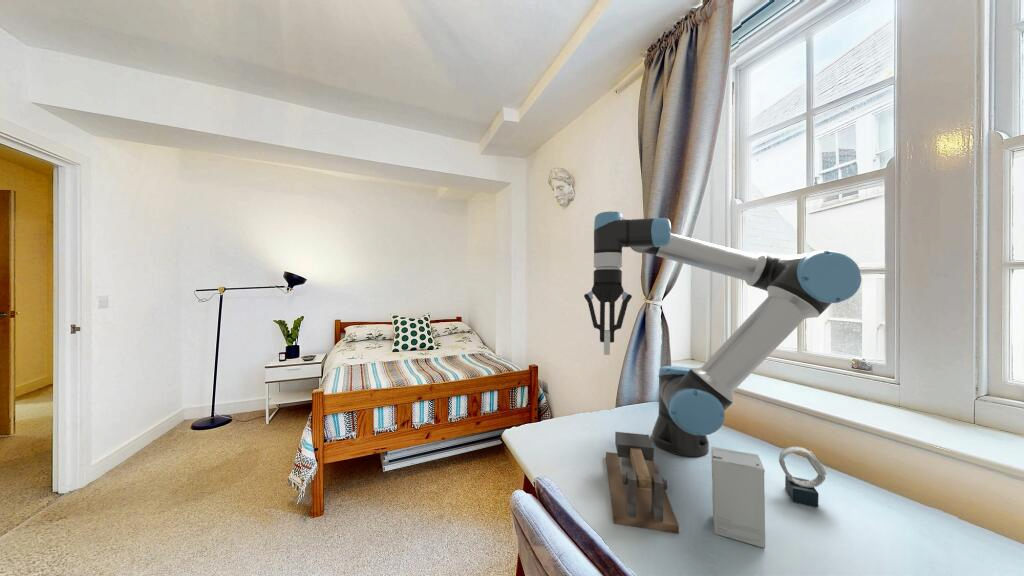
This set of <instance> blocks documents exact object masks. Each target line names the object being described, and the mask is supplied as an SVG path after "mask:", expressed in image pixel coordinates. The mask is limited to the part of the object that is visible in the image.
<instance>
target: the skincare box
mask: <svg viewBox="0 0 1024 576" xmlns="http://www.w3.org/2000/svg"><path fill="white" fill-rule="evenodd" d="M711 487H712V489H711V490H712V493H711V494H712V517H713V518H712V520H713V531H714V534H715V535H718V536H722V537H725V538H728V539H733V540H736V541H740V542H743V543H746V544H750V545H753V546H756V547H760V548H763V549H765V548H766V512H765V511H766V507H765V503H766V502H765V500H766V499H765V495H766V494H765V468H764V466H763V462H762V460H761V458H760V456H759V454H757V453H756V454H755V453H750V452H743V451H738V450H733V449H726V448H721V447H716V446H711Z"/></svg>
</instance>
